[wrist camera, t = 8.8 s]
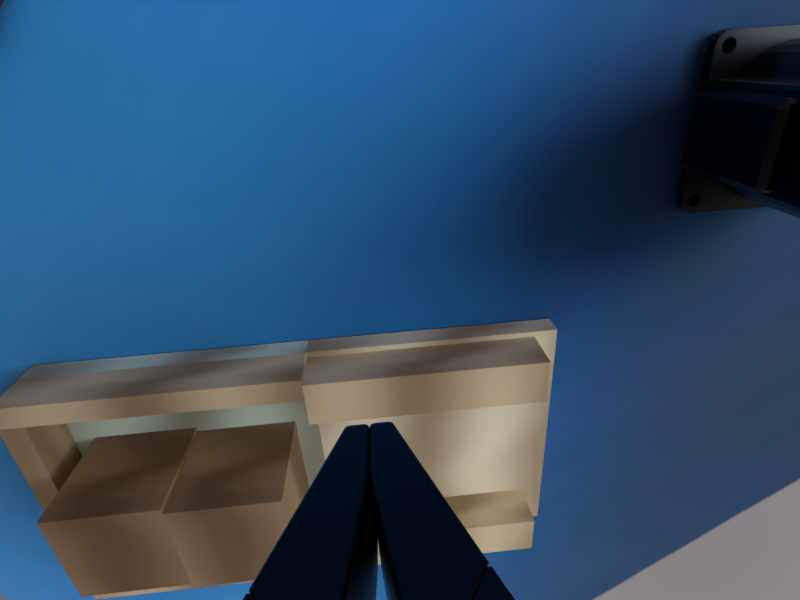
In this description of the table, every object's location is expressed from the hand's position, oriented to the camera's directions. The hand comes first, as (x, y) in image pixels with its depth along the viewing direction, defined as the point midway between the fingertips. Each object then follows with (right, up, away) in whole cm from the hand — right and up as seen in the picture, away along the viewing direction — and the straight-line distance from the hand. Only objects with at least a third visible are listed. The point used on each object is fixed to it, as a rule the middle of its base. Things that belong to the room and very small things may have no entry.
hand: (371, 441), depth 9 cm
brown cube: (-6, -5, +15) cm, 17 cm away
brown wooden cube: (-11, -6, +14) cm, 19 cm away
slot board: (-4, -5, +16) cm, 17 cm away
